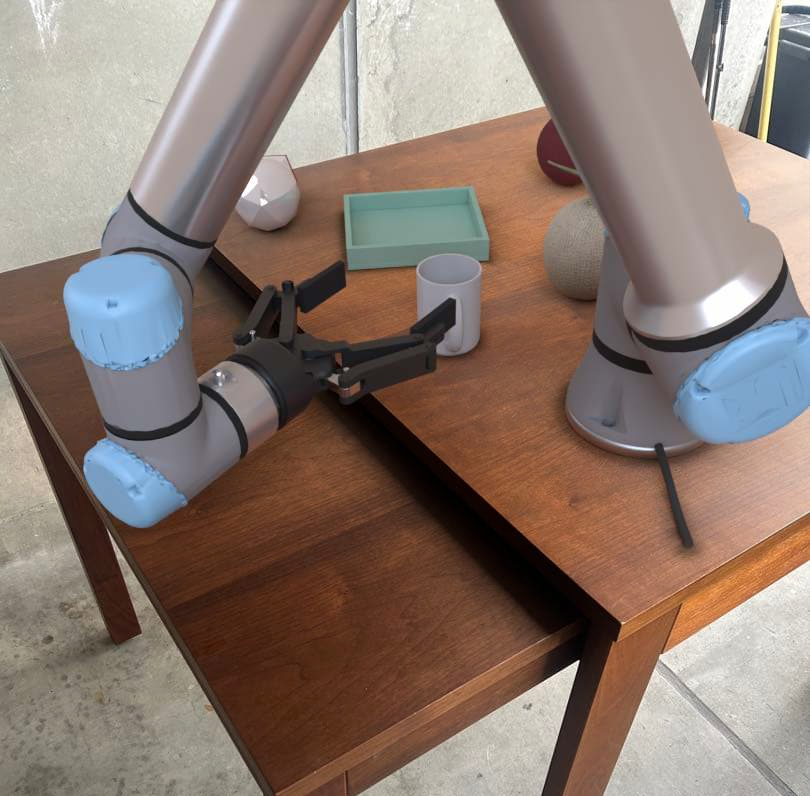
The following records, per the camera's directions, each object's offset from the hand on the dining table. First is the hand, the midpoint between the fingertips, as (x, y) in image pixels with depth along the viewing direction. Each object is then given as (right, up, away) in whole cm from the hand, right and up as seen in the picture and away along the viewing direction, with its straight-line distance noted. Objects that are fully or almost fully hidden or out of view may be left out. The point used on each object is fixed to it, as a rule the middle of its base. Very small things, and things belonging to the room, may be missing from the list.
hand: (396, 291), depth 86 cm
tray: (+2, +17, +33) cm, 38 cm away
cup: (+6, -3, +14) cm, 15 cm away
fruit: (+23, +6, +21) cm, 32 cm away
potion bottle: (-19, +22, +39) cm, 49 cm away
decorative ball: (+25, +33, +40) cm, 57 cm away
